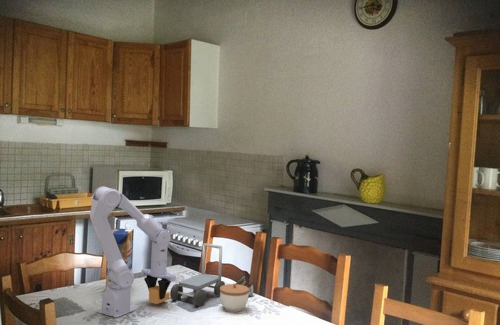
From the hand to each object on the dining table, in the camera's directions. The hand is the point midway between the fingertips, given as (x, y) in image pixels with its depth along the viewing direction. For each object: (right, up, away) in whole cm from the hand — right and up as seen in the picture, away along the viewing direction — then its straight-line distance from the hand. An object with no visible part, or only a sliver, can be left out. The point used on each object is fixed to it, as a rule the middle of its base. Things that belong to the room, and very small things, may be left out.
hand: (157, 297), depth 173 cm
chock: (0, -2, +1) cm, 2 cm away
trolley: (+14, -3, +11) cm, 18 cm away
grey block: (+31, -4, +15) cm, 34 cm away
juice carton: (-18, -2, +13) cm, 22 cm away
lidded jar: (+28, -4, 0) cm, 28 cm away
